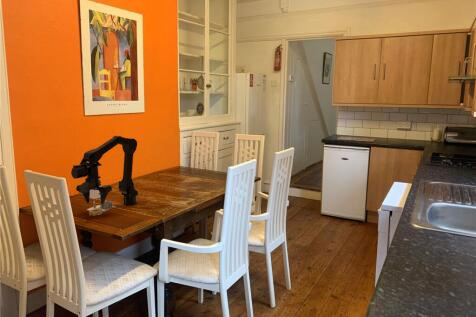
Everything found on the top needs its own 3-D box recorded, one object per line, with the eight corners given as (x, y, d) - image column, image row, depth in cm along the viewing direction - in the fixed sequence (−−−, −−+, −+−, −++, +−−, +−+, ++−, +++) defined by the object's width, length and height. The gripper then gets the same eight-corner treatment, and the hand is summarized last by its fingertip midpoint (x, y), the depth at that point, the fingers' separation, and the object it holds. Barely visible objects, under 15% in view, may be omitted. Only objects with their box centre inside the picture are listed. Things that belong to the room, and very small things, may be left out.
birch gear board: (115, 208, 208) (115, 199, 208) (104, 213, 199) (103, 204, 198) (98, 206, 212) (97, 198, 211) (86, 211, 203) (85, 202, 202)
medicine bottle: (99, 196, 235) (97, 178, 233) (105, 198, 231) (103, 179, 229) (88, 199, 230) (87, 180, 228) (94, 200, 225) (92, 181, 223)
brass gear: (104, 214, 197) (104, 209, 197) (97, 218, 191) (96, 212, 191) (95, 213, 199) (94, 208, 199) (87, 217, 193) (86, 211, 193)
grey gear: (114, 206, 209) (114, 201, 208) (109, 209, 202) (108, 204, 202) (104, 205, 210) (103, 200, 209) (98, 209, 203) (98, 204, 203)
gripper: (67, 177, 187) (69, 206, 190) (97, 179, 181) (99, 209, 184) (82, 173, 198) (84, 201, 200) (111, 174, 192) (113, 203, 194)
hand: (95, 203), depth 194 cm, fingers open, 9 cm apart
